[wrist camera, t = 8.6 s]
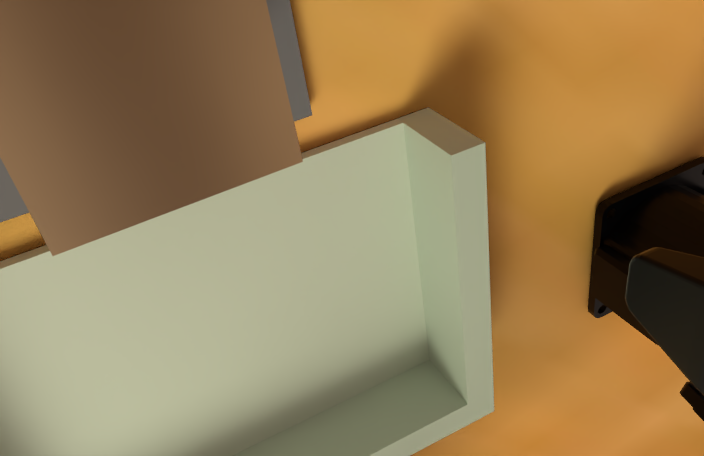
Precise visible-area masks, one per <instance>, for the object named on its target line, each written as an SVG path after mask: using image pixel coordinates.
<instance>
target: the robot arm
mask: <svg viewBox="0 0 704 456" xmlns="http://www.w3.org/2000/svg"><path fill="white" fill-rule="evenodd" d="M612 311H613V312H614V313H616V314H617V315H618V316H620V317H621V318H622V319H624V320H625V321H626V322H628V323H629V324H630V325H631V326H633V327H634V328H635V329H637V330H638V331H639V332H641V333H642V334H643V335H645V336H646V337H647V338H649V339H650V340H651V341H653V342H654V343H655V344H657V345H659V346H660V347H661V348H662V349H663V351H664V352H665V353H666V354H667V355H668V356H669V357H670V359H671V360H672V361H673V362H674V363H675V364H676V366H677V367H678V368H679V369H680V370H681V371H682V373H683V374H684V375H685V376H686V377H687V378H688V379H689V381H690V382H686V384H685V385H684V387H683V388H682V390H681V391H680V394H681V395H682V396H683V397H684V398H685V399H686V400H687V401H688V403H689V404H690V405H691V406H692V407H693V410H694V411H695V412H696V414H697V415H698V416H699V417H700V418H701V419H702V420H703V421H704V157H700V158H698V159H696V160H693V161H691V162H689V163H687V164H684V165H682V166H680V167H678V168H675V169H673V170H671V171H669V172H666V173H664V174H662V175H660V176H658V177H655V178H653V179H651V180H649V181H646V182H644V183H642V184H640V185H637V186H635V187H633V188H631V189H628V190H626V191H624V192H622V193H619V194H617V195H615V196H613V197H611V198H608V199H606V200H604V201H603V202H601V204H600V205H599V206H598V208H597V210H596V214H595V226H594V239H593V251H592V264H591V276H590V289H589V301H588V312H589V313H591V314H592V315H593V316H594V317H596V318H600V317H603V316H604V315H606V314H608V313H610V312H612Z"/></svg>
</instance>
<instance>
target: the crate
mask: <svg viewBox="0 0 704 456" xmlns="http://www.w3.org/2000/svg"><path fill="white" fill-rule="evenodd" d="M301 155H302V159H303V162H301V163H298V164H296V165H293V166H290V167H288V168H285V169H282V170H280V171H277V172H275V173H272V174H269V175H267V176H264V177H261V178H259V179H256V180H253V181H251V182H248V183H245V184H243V185H240V186H238V187H235V188H232V189H230V190H227V191H224V192H222V193H219V194H216V195H214V196H211V197H208V198H206V199H203V200H200V201H198V202H195V203H193V204H190V205H187V206H185V207H182V208H179V209H177V210H174V211H171V212H169V213H166V214H163V215H161V216H158V217H155V218H153V219H150V220H148V221H145V222H142V223H140V224H137V225H134V226H132V227H129V228H126V229H124V230H121V231H118V232H116V233H113V234H110V235H108V236H105V237H103V238H100V239H97V240H95V241H92V242H89V243H87V244H84V245H81V246H79V247H76V248H73V249H71V250H68V251H65V252H63V253H60V254H58V255H55V256H52V254H51V252H50V250H49V248H48V246H47V245H44V246H42V247H39V248H36V249H33V250H31V251H28V252H25V253H22V254H19V255H17V256H14V257H11V258H8V259H5V260H3V261H0V456H410V455H412V454H414V453H416V452H418V451H420V450H422V449H424V448H425V447H427V446H429V445H431V444H433V443H435V442H437V441H439V440H440V439H442V438H444V437H446V436H448V435H450V434H452V433H454V432H456V431H457V430H459V429H461V428H463V427H465V426H467V425H469V424H471V423H472V422H474V421H476V420H478V419H480V418H482V417H484V416H486V415H488V414H489V413H491V412H493V411H494V389H493V359H492V329H491V298H490V268H489V238H488V207H487V177H486V147H485V142H484V141H482V140H481V139H479V138H477V137H476V136H474V135H473V134H471V133H469V132H468V131H466V130H464V129H463V128H461V127H460V126H458V125H456V124H455V123H453V122H452V121H450V120H448V119H447V118H445V117H443V116H442V115H440V114H439V113H437V112H435V111H434V110H432V109H430V108H429V107H428V108H425V109H422V110H420V111H417V112H414V113H411V114H409V115H406V116H403V117H400V118H397V119H395V120H392V121H389V122H386V123H384V124H381V125H378V126H375V127H372V128H370V129H367V130H364V131H361V132H359V133H356V134H353V135H350V136H347V137H345V138H342V139H339V140H336V141H333V142H331V143H328V144H325V145H322V146H320V147H317V148H314V149H311V150H308V151H306V152H303V153H301Z"/></svg>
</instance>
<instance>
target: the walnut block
mask: <svg viewBox="0 0 704 456" xmlns="http://www.w3.org/2000/svg"><path fill="white" fill-rule="evenodd" d="M0 158H1V160H2V162H3V164H4V165H5V167H6V169H7V171H8V173H9V175H10V177H11V179H12V180H13V182H14V184H15V186H16V188H17V190H18V192H19V194H20V196H21V197H22V199H23V201H24V203H25V205H26V207H27V209H28V211H29V212H30V214H31V216H32V218H33V220H34V222H35V224H36V226H37V228H38V229H39V231H40V233H41V235H42V237H43V239H44V241H45V243H46V244H47V246H48V248H49V250H50V252H51V254H52V256H55V255H58V254H60V253H63V252H65V251H68V250H71V249H73V248H76V247H79V246H81V245H84V244H87V243H89V242H92V241H95V240H97V239H100V238H103V237H105V236H108V235H110V234H113V233H116V232H118V231H121V230H124V229H126V228H129V227H132V226H134V225H137V224H140V223H142V222H145V221H148V220H150V219H153V218H155V217H158V216H161V215H163V214H166V213H169V212H171V211H174V210H177V209H179V208H182V207H185V206H187V205H190V204H193V203H195V202H198V201H200V200H203V199H206V198H208V197H211V196H214V195H216V194H219V193H222V192H224V191H227V190H230V189H232V188H235V187H238V186H240V185H243V184H245V183H248V182H251V181H253V180H256V179H259V178H261V177H264V176H267V175H269V174H272V173H275V172H277V171H280V170H282V169H285V168H288V167H290V166H293V165H296V164H298V163H301V162H303V159H302V155H301V151H300V146H299V142H298V137H297V133H296V129H295V124H294V120H293V116H292V111H291V107H290V103H289V98H288V94H287V90H286V85H285V81H284V77H283V72H282V68H281V63H280V59H279V55H278V50H277V46H276V42H275V37H274V33H273V29H272V24H271V20H270V16H269V11H268V7H267V2H266V0H0Z"/></svg>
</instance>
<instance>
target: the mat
mask: <svg viewBox="0 0 704 456" xmlns="http://www.w3.org/2000/svg"><path fill="white" fill-rule="evenodd" d="M266 2H267V7H268V11H269V16H270V20H271V24H272V29H273V33H274V37H275V42H276V46H277V50H278V55H279V59H280V63H281V68H282V72H283V77H284V81H285V85H286V90H287V94H288V98H289V103H290V107H291V111H292V116H293V120H294V121H297V120H300V119H302V118H305V117H308V116H311V115H312V111H311V106H310V101H309V96H308V91H307V86H306V81H305V76H304V71H303V66H302V61H301V55H300V50H299V45H298V40H297V35H296V30H295V25H294V20H293V15H292V10H291V4H290V0H266ZM26 213H29V211H28V209H27V207H26V205H25V203H24V201H23V199H22V197H21V196H20V194H19V192H18V190H17V188H16V186H15V184H14V182H13V180H12V179H11V177H10V175H9V173H8V171H7V169H6V167H5V165H4V164H3V162H2V160H1V158H0V222H3V221H6V220H8V219H11V218H14V217H17V216H20V215H23V214H26Z"/></svg>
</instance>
